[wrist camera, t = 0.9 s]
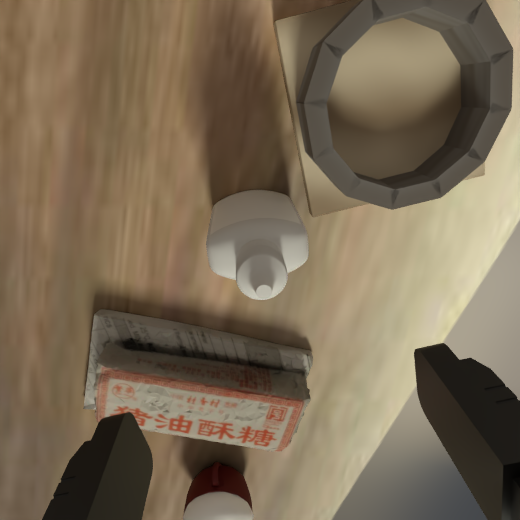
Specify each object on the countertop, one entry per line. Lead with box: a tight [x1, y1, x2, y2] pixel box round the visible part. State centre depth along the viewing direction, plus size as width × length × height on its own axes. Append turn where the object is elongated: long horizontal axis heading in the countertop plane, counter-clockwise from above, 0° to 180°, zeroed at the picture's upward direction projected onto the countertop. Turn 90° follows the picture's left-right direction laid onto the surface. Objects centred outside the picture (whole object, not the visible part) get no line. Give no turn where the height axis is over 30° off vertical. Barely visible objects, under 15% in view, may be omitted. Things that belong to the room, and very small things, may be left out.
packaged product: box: [83, 309, 313, 452], centre depth 31 cm, size 18×5×10 cm
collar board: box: [273, 0, 513, 217], centre depth 23 cm, size 12×12×4 cm
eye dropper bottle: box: [206, 190, 309, 300], centre depth 22 cm, size 4×6×12 cm
